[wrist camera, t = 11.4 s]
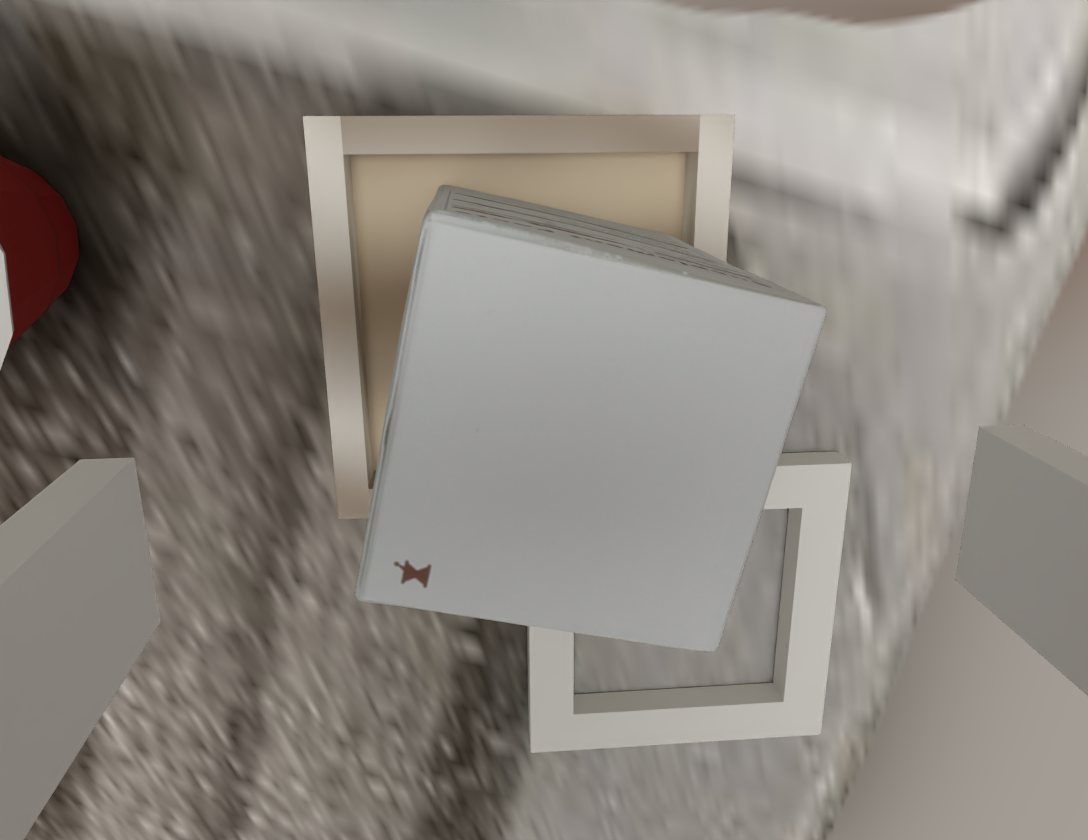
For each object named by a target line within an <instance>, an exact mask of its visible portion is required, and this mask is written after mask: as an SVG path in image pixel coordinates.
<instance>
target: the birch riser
mask: <svg viewBox="0 0 1088 840" xmlns="http://www.w3.org/2000/svg"><path fill="white" fill-rule="evenodd" d="M303 124H304V136H305V147H306V158H307V169H308V181H309V192H310V203H311V215H312V226H313V237H314V248H315V260H316V271H317V282H318V294H319V305H320V316H321V327H322V339H323V350H324V361H325V373H326V384H327V395H328V407H329V418H330V429H331V440H332V452H333V463H334V474H335V486H336V497H337V508H338V519H363V518H368V515H369V509H370V503H371V497H372V492H373V486H374V480H375V474H376V468H377V462H378V456H379V450H380V444H381V438H382V431H383V425H384V419H385V413H386V408H387V402H388V397H389V391H390V385H391V380H392V374H393V369H394V363H395V358H396V352H397V347H398V341H399V335H400V330H401V324H402V319H403V314H404V309H405V304H406V299H407V294H408V289H409V284H410V279H411V274H412V269H413V264H414V260H415V255H416V250H417V245H418V240H419V235H420V230H421V225H422V221H423V218H424V215H425V212H426V210H427V209H428V207H429V205H430V204H431V202H432V201H433V199H434V197H435V195H436V193H437V190H438V188H439V187H440V186H441V185H451V186H455V187H460V188H465V189H470V190H474V191H479V192H483V193H488V194H492V195H497V196H502V197H507V198H512V199H516V200H520V201H524V202H529V203H534V204H539V205H543V206H547V207H552V208H556V209H560V210H564V211H569V212H573V213H577V214H582V215H586V216H590V217H595V218H599V219H603V220H608V221H612V222H616V223H620V224H625V225H629V226H633V227H638V228H642V229H646V230H651V231H656V232H660V233H665V234H668V235H671V236H673V237H675V238H677V239H679V240H681V241H683V242H685V243H687V244H689V245H691V246H693V247H695V248H697V249H700V250H701V251H703V252H706V253H708V254H710V255H712V256H713V257H715V258H718V259H720V260H722V261H724V262H726V255H727V239H728V222H729V206H730V190H731V173H732V157H733V140H734V124H735V115H487V116H303Z"/></svg>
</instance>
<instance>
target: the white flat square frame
mask: <svg viewBox="0 0 1088 840" xmlns="http://www.w3.org/2000/svg"><path fill="white" fill-rule="evenodd" d="M851 466H852V463H851V462H850V461H848V460H847V459H846V458H845V457H844V456H843V455H841V454H840V453H839V452H838V451H830V452H803V453H781V456H780V459H779V462H778V465H777V468H776V471H775V474H774V477H773V480H772V483H771V486H770V489H769V493H768V496H767V499H766V502H765V505H764V508H763V509H787V508H789V513H788V524H787V534H786V545H785V556H784V567H783V578H782V589H781V599H780V610H779V621H778V632H777V643H776V654H775V665H774V675H773V683H759V684H742V685H725V686H708V687H691V688H674V689H657V690H640V691H623V692H606V693H589V694H574V633H572V632H566V631H559V630H553V629H547V628H540V627H533V626H527V654H528V730H529V741H530V751H531V753H540V752H555V751H571V750H586V749H602V748H618V747H633V746H649V745H664V744H680V743H696V742H711V741H727V740H742V739H758V738H774V737H789V736H805V735H820V734H821V727H822V718H823V709H824V701H825V692H826V683H827V674H828V666H829V657H830V648H831V640H832V631H833V622H834V614H835V605H836V596H837V588H838V579H839V570H840V562H841V553H842V544H843V536H844V527H845V518H846V510H847V501H848V492H849V484H850V475H851Z"/></svg>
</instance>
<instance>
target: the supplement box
mask: <svg viewBox="0 0 1088 840" xmlns="http://www.w3.org/2000/svg"><path fill="white" fill-rule="evenodd" d="M826 312H827V310H826V309H825V307H823V306H821V305H820V304H818V303H816V302H814V301H812V300H810V299H808V298H805V297H803V296H801V295H798V294H796V293H794V292H791V291H789V290H787V289H785V288H782V287H780V286H778V285H776V284H774V283H772V282H770V281H767V280H765V279H763V278H760V277H758V276H756V275H754V274H751V273H749V272H747V271H744V270H742V269H739V268H737V267H735V266H732V265H730V264H728V263H726V262H724V261H722V260H720V259H718V258H715V257H713V256H712V255H710V254H708V253H706V252H703V251H701V250H700V249H697V248H695V247H693V246H691V245H689V244H687V243H685V242H683V241H681V240H679V239H677V238H675V237H673V236H671V235H668V234H665V233H660V232H656V231H651V230H646V229H642V228H638V227H633V226H629V225H625V224H620V223H616V222H612V221H608V220H603V219H599V218H595V217H590V216H586V215H582V214H577V213H573V212H569V211H564V210H560V209H556V208H552V207H547V206H543V205H539V204H534V203H529V202H524V201H520V200H516V199H512V198H507V197H502V196H497V195H492V194H488V193H483V192H479V191H474V190H470V189H465V188H460V187H455V186H451V185H441V186H440V187H439V188H438V190H437V193H436V195H435V197H434V199H433V201H432V202H431V204H430V205H429V207H428V209H427V210H426V212H425V215H424V218H423V221H422V225H421V230H420V235H419V240H418V245H417V250H416V255H415V260H414V264H413V269H412V274H411V279H410V284H409V289H408V294H407V299H406V304H405V309H404V314H403V319H402V324H401V330H400V335H399V341H398V347H397V352H396V358H395V363H394V369H393V374H392V380H391V385H390V391H389V397H388V402H387V408H386V413H385V419H384V425H383V431H382V438H381V444H380V450H379V456H378V462H377V468H376V474H375V480H374V486H373V492H372V497H371V503H370V509H369V515H368V521H367V526H366V532H365V538H364V544H363V549H362V555H361V561H360V567H359V572H358V577H357V582H356V587H355V592H354V593H355V597H356V598H357V599H358V600H359V601H362V602H370V603H378V604H386V605H393V606H401V607H409V608H416V609H422V610H428V611H435V612H441V613H447V614H454V615H461V616H467V617H474V618H481V619H487V620H494V621H501V622H507V623H513V624H519V625H525V626H533V627H540V628H547V629H553V630H559V631H566V632H572V633H578V634H585V635H592V636H599V637H606V638H612V639H619V640H626V641H633V642H639V643H644V644H653V645H658V646H664V647H671V648H678V649H685V650H695V651H705V652H713V651H715V650H716V649H717V648H718V645H719V643H720V640H721V637H722V634H723V631H724V627H725V624H726V621H727V618H728V615H729V611H730V608H731V605H732V603H733V600H734V597H735V594H736V591H737V588H738V585H739V582H740V579H741V575H742V572H743V569H744V566H745V563H746V560H747V557H748V554H749V551H750V548H751V545H752V542H753V539H754V536H755V533H756V530H757V527H758V523H759V520H760V517H761V514H762V511H763V508H764V505H765V502H766V499H767V496H768V493H769V489H770V486H771V483H772V480H773V477H774V474H775V471H776V468H777V465H778V462H779V459H780V456H781V452H782V449H783V446H784V443H785V440H786V437H787V434H788V431H789V428H790V425H791V422H792V418H793V415H794V412H795V409H796V406H797V403H798V400H799V397H800V394H801V390H802V387H803V384H804V381H805V378H806V375H807V372H808V369H809V366H810V363H811V360H812V356H813V353H814V350H815V347H816V344H817V341H818V338H819V334H820V332H821V329H822V326H823V323H824V320H825V318H826Z"/></svg>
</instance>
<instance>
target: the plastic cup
mask: <svg viewBox="0 0 1088 840" xmlns="http://www.w3.org/2000/svg"><path fill="white" fill-rule="evenodd" d="M79 256H80V253H79V243H78V232H77V225H76V223H75V221H74V219H73V217H72V215H71V213H70V211H69V209H68V207H67V205H66V203H65V201H64V199H63V197H62V196H60V195H59V194H58V193H57V192H56V191H55V190H54V189H53V188H52V187H51V186H50V185H49V184H48V183H47V182H46V181H45V180H44V179H43V178H42V177H40V176H39V175H38V174H36V173H35V172H34V171H32V170H30V169H28V168H26V167H24V166H22V165H19V164H17V163H15V162H13V161H11V160H8V159H6V158H4V157H2V156H0V369H1V366H2V363H3V361H4V358H5V355H6V352H7V349H8V347H9V346H11V345H12V344H13V343H14V342H15V341H16V340H17V339H18V338H19V337H20V336H21V335H22V334H23V333H24V332H25V331H26V330H27V329H28V328H29V327H30V326H31V325H32V324H33V323H34V322H35V321H36V320H37V319H38V318H39V317H40V316H41V315H42V314H43V313H44V312H45V311H46V310H47V309H48V308H49V306H50V305H51V304H52V303H53V302H54V301H55V300H56V299H57V298H58V297H59V296H60V295H61V294H62V293H63V292H64V291H65V290H66V289H67V288H68V286H69V283H70V281H71V279H72V276H73V273H74V270H75V267H76V264H77V261H78V259H79Z"/></svg>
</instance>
